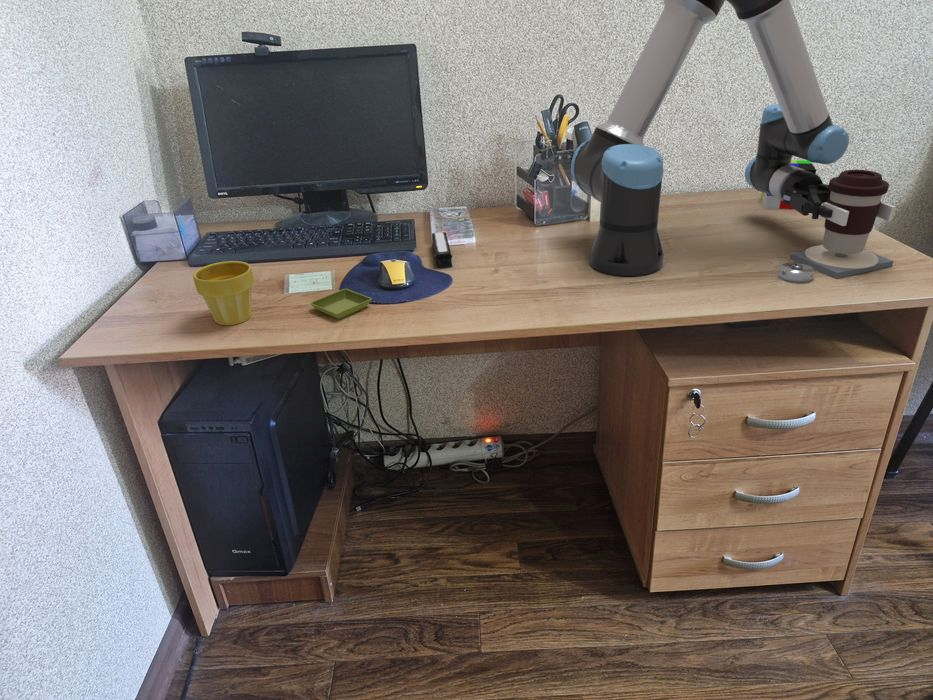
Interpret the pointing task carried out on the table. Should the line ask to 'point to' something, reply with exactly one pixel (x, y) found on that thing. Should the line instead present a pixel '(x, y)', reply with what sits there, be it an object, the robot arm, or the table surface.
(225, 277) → the plant pot
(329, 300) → the green rectangular tray
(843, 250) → the coffee cup
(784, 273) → the grey rounded disc
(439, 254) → the white-topped black block
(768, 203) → the puzzle toy
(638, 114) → the robot arm
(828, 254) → the disc case
